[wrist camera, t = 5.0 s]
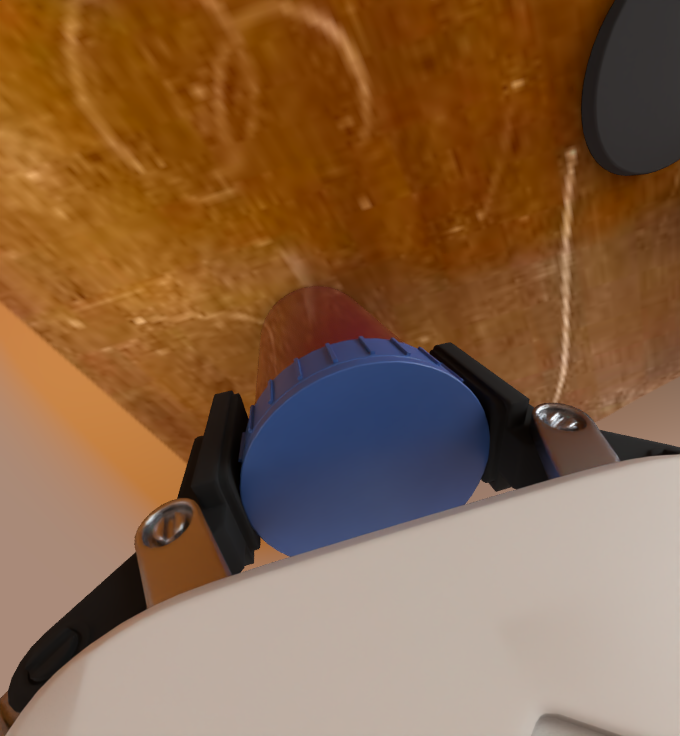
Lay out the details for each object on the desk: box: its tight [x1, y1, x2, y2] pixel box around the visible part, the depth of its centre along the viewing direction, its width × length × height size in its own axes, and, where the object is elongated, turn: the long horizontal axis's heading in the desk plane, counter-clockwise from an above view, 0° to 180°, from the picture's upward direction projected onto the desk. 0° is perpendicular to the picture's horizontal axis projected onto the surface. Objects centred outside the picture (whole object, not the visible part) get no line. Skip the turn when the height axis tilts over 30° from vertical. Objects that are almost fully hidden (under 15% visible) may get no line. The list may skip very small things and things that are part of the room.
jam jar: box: [255, 286, 404, 404], centre depth 13 cm, size 6×6×10 cm
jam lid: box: [238, 336, 490, 557], centre depth 9 cm, size 7×7×2 cm
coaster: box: [581, 0, 680, 176], centre depth 15 cm, size 9×9×1 cm
